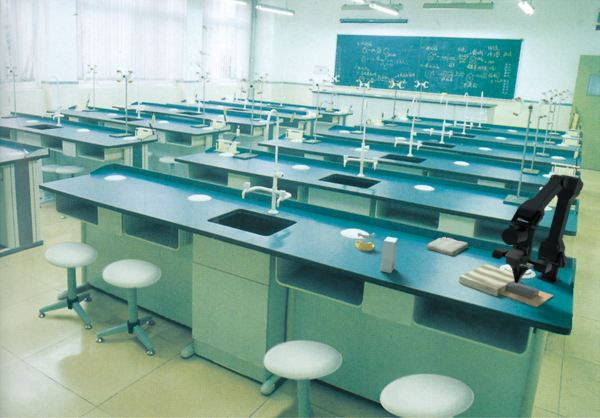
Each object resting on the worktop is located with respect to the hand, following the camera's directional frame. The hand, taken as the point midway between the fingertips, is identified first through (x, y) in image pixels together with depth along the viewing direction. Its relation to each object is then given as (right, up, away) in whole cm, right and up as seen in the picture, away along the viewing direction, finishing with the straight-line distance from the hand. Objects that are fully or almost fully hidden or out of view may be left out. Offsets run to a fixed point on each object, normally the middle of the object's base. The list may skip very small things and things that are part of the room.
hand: (516, 282), depth 174 cm
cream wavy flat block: (-6, -1, +7) cm, 10 cm away
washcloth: (-12, +8, +42) cm, 45 cm away
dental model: (-49, +9, +36) cm, 61 cm away
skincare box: (-43, +3, +13) cm, 45 cm away
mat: (+3, -4, -2) cm, 5 cm away
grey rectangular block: (+1, -3, -1) cm, 4 cm away
